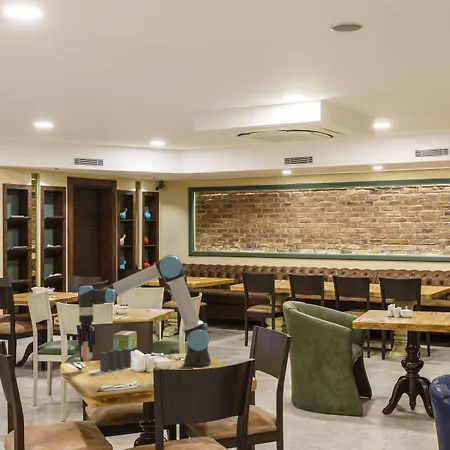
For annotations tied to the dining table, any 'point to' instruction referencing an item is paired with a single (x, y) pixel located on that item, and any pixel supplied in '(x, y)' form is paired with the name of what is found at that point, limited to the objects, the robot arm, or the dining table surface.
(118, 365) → the domino
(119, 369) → the domino mat
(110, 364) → the domino
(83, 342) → the domino
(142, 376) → the dining table surface
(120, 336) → the tea box
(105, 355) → the domino
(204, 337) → the robot arm
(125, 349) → the domino
